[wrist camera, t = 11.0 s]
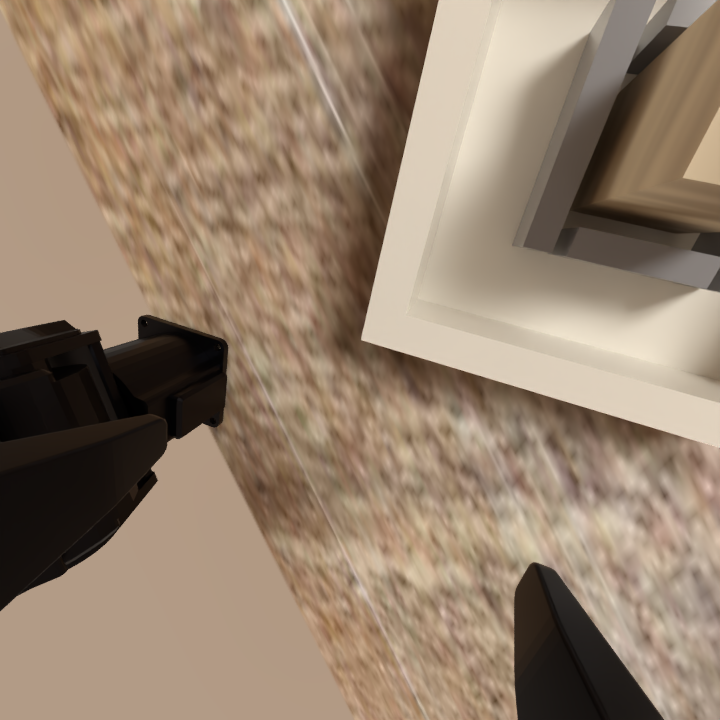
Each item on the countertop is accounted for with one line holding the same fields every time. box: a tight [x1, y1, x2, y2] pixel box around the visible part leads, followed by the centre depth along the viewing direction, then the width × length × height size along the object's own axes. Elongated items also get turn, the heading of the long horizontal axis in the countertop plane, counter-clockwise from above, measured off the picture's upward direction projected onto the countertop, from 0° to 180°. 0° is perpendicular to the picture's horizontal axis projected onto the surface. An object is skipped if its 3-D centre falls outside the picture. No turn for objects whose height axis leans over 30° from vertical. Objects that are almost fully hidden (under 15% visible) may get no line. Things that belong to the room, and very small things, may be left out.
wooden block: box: [570, 0, 720, 234], centre depth 9 cm, size 4×4×8 cm
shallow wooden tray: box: [361, 0, 720, 448], centre depth 12 cm, size 17×17×5 cm
